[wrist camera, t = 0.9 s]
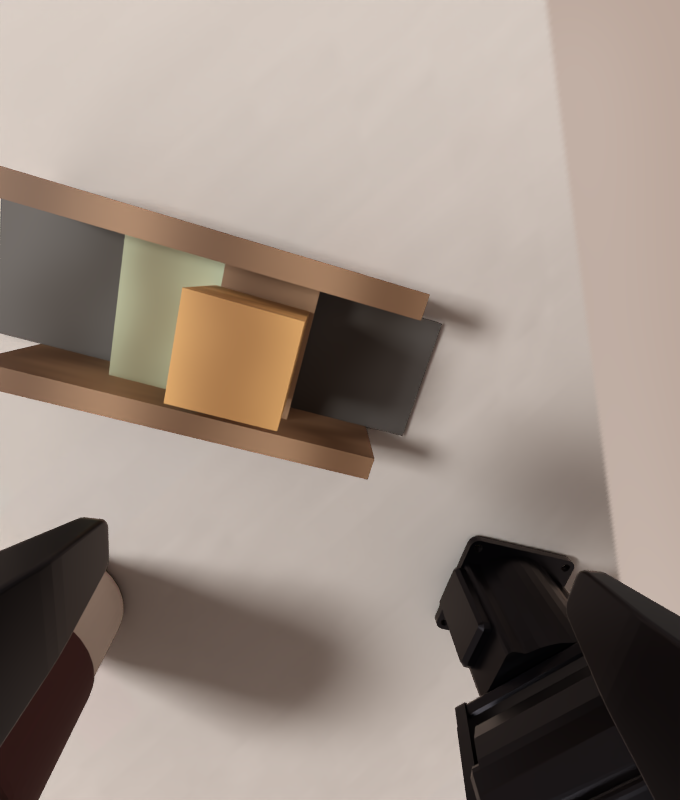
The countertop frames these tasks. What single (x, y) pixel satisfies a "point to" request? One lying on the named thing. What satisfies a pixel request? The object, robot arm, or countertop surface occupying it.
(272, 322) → the block
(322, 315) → the trough
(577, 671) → the robot arm
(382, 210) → the countertop surface
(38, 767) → the coffee cup
